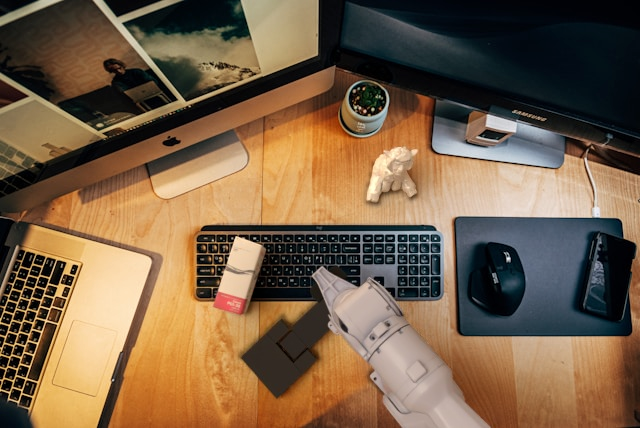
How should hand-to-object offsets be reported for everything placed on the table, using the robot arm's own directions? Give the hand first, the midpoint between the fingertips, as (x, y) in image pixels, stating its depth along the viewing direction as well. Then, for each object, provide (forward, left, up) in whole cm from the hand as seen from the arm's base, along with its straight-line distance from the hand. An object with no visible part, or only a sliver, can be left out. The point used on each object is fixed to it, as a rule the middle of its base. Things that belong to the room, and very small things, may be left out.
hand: (346, 306), depth 69 cm
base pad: (+1, +14, -9) cm, 17 cm away
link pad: (+1, +7, -9) cm, 12 cm away
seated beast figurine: (+11, -22, -10) cm, 26 cm away
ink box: (+12, +15, -5) cm, 20 cm away
